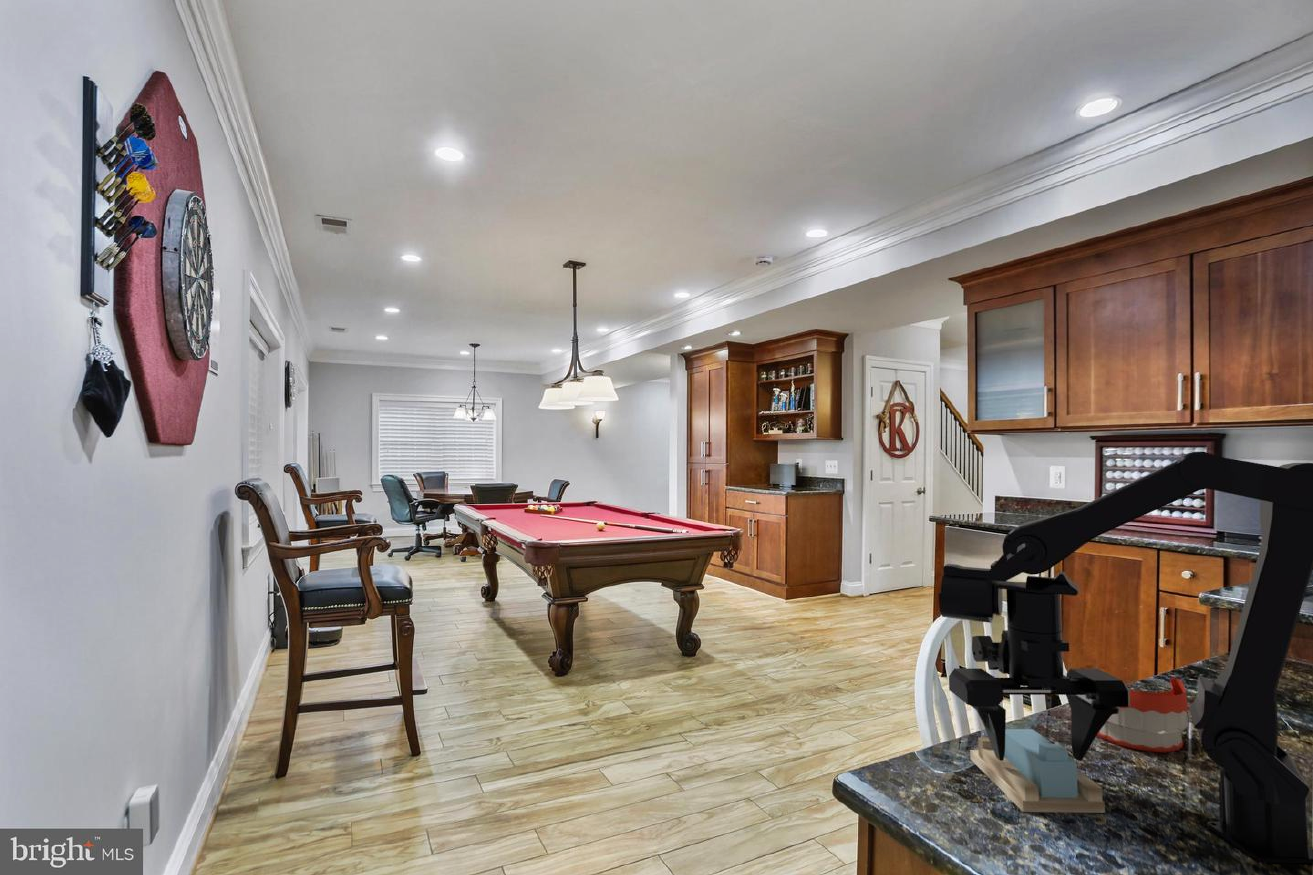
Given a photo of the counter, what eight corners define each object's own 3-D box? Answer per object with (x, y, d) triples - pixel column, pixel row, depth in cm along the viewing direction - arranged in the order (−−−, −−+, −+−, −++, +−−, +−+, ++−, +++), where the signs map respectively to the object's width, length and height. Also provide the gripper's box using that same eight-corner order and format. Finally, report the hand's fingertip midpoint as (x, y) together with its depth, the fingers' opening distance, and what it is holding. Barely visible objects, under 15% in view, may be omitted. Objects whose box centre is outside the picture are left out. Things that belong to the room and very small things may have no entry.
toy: (1088, 746, 89) (1086, 688, 90) (1079, 720, 99) (1077, 666, 99) (1204, 765, 84) (1202, 702, 84) (1183, 735, 93) (1181, 678, 93)
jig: (1104, 812, 72) (1103, 779, 72) (1023, 811, 73) (1022, 779, 73) (1039, 759, 85) (1038, 731, 85) (970, 759, 86) (969, 731, 86)
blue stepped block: (1077, 797, 73) (1076, 750, 74) (1041, 797, 73) (1040, 750, 74) (1033, 761, 82) (1032, 719, 83) (1001, 761, 82) (1000, 719, 83)
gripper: (1071, 612, 86) (1075, 731, 85) (930, 612, 87) (933, 731, 86) (1130, 634, 75) (1135, 771, 74) (967, 634, 75) (971, 771, 75)
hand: (1038, 759), depth 78 cm, fingers open, 9 cm apart
